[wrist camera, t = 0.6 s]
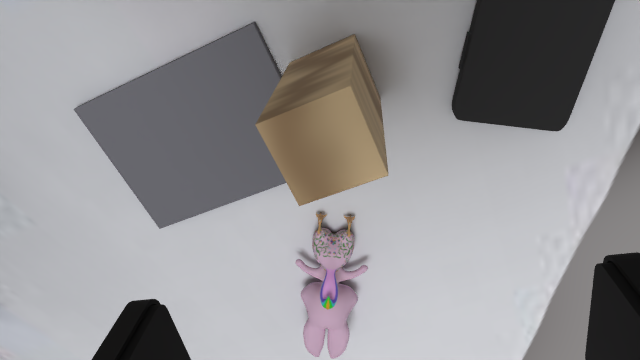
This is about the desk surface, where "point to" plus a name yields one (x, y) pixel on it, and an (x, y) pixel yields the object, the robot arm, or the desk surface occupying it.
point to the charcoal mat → (192, 128)
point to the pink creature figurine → (329, 290)
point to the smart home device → (527, 61)
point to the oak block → (326, 123)
